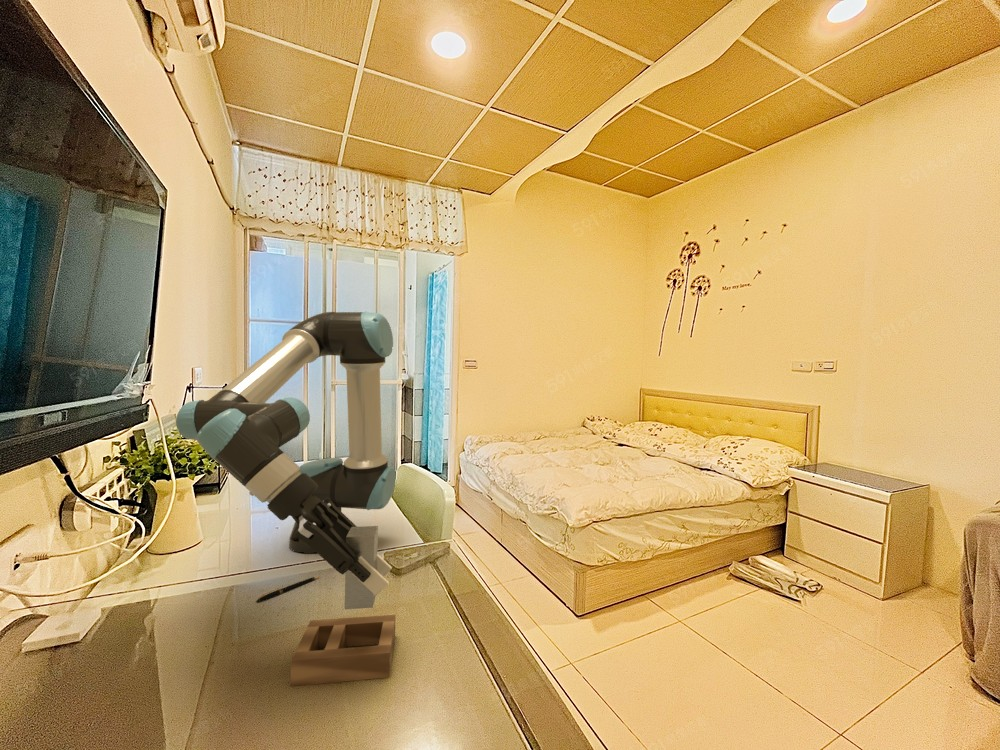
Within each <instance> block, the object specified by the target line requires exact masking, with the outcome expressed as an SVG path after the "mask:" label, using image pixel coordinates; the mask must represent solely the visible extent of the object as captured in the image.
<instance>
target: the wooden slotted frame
mask: <svg viewBox="0 0 1000 750" xmlns="http://www.w3.org/2000/svg"><path fill="white" fill-rule="evenodd" d="M395 640H396V614H387V615H386V614H385V615H373V616H372V615H371V616H370V615H369V616H356V617H343V618H342V617H341V618H326V619H315V620H314V619H313V620H310V621H309V622H308V625H307V627H306V629H305V631H304V633H303V634H302V637H301V639H300V641H299V643H298V645H297V647H296V649H295V651H294V653H293V656H292V658H291V660H290V681H289V684H290V687H296V686H306V685H308V686H309V685H317V684H329V683H339V682H350V681H361V680H363V681H364V680H372V679H382V678H383V679H384V678H390V674H391V667H392V659H393V652H394V645H395ZM370 645H371V646H370Z"/></svg>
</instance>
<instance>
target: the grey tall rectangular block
mask: <svg viewBox="0 0 1000 750" xmlns="http://www.w3.org/2000/svg"><path fill="white" fill-rule="evenodd" d="M378 537H379V526H378V525H372V526H371V525H370V526H369V525H367V526H364V525H363V526H357V527H351V529H350V531H349V533H348V534H347V536H346V544H347V545H348V546H349V547H350V548H351V550H352V551H353V552H354V553H355V554H356V555H357V557H358V558H359V557H360V556H362V557H363V558H364V559H365V560H366V561H367V562H368V563H369V564H370V565H371V566H372V567H373V568H375V569H376V570H377V554H378V546H379V543H378ZM344 577H345V578H344V610H356V609H357V610H358V609H372V608H374V604H375V600H376V596H375V595H374V594H373V593H372V592H371V591H370V590H369V589H368V588H367V587H366V586H365V585H364V584H362V583H361V582H360V581H359V580H358V579H357V578H356V577H355V576H354V575H353V574H352V573H351V572H350V571H348V570H347V571H346V572H345V573H344Z"/></svg>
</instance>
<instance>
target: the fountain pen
mask: <svg viewBox="0 0 1000 750" xmlns="http://www.w3.org/2000/svg"><path fill="white" fill-rule="evenodd" d="M319 577H320V575H318V576H316V577H315V576H312V577H310V578H306V579H304V580H301V581H297V582H296V583H293V584H291V585H287V586H285V587H282V588H275V589H273V590H270V591H268V592H266V593H263V594H262V595H260V596H258V598H257V599H256V600H255V603H261V602H264V601H265V602H266V601H268V600H270V599H273V598H275V597H278V596H281V595H282V594H284V593H288V592H290V591H292V590H295V589H297V588H299V587H301V586H302V587H303V586H305V585H306V584H309V583H311V582H314V581H315V580H316V579H318V578H319Z"/></svg>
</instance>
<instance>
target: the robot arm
mask: <svg viewBox="0 0 1000 750" xmlns="http://www.w3.org/2000/svg"><path fill="white" fill-rule="evenodd" d="M281 339H282V340H281V341H280V342H279V343H278V344H277V345H275V346H274V347H273V348H272V349H270V350H269V351H268V352H267V353H265V354H264V355H263V356H262V357H261V358H259V359H258V360H257V361H255V362H254V363H253V364H252V365H251V366H249V367H248V368H247V369H245V370H244V371H243V372H242V373H240V374H239V375H238V376H237V377H236V378H234V379H233V380H232V381H231V382H229V383H228V384H227V385H226V386H225V387H222V389H221V390H220V391H218V392H217V393H215V394H214V395H213V396H211V398H209V399H207V400H204V399H198V400H192V401H189V402H187V403H185V404H184V405H182V406H181V408H180V409H179V410H178V412H177V414H176V419H175V426H176V429H177V430H178V433H179V434H180V435H181V436H182V437H183V438H185V439H187V440H192V441H193V440H194V441H197V443H198V445H200V447H201V448H202V449H203V450H204V451H205V452H206V453H207V454H208V456H210V458H211V459H213V460H214V461H215V462H216V463H217V464H218V465H219V466H221V467H222V468H223V469H224V470H225V471H226V472H228V473H229V474H230V475H231V476H232V477H233V478H235V479H236V480H237V481H238V483H240V484H241V485H243V486H244V487H245V489H247V490H248V491H249V495H250V496H252V497H253V496H254V497H256V499H257V500H258V501H260V503H266V502H267V509H268V510H269V511H270V512H271V513H272V514H273V515H275V516H276V518H277V519H279V521H284V520H286V519H288V518H289V516H290V517H291V518H292V519H293V520H294V524H293V527H292V529H291V532H290V536H289V538H288V540H289V542H288V543H289V544H288V547H289V546H290V547H289V549H290V548H291V549H292V550H291V549H290V550H291V551H293V550H294V551H293V552H295V551H298V552H297V553H299V552H304V553H303V554H315V553H314V552H317V553H316V554H317V555H319V556H320V557H321V558H322V559H323V560H324V561H326V562H327V563H328V564H329V565H330V566H331V567H332V568H333V569H335V570H336V571H337V572H338V573H339V574H341V575H345V572H346V571H347V570H348V571H350V572H351V573H352V574H353V575H354V576H355V577H356V578H357V579H358V580H359V581H360V582H361V583H362V584H364V585H365V586H366V587H367V588H368V589H369V590H370V591H371V592H372V593H373V594H374V595H375V596H379V594H380V593H381V592H382V591H383V590H384V589H385V588H386V587H387V586H388V585H389V582H390V581H388V579H386V578H385V576H386V575H387V574H388V573H389V572H391V570H392V568H393V567H392V566H391V564H389V563H388V562H387V561H386V560H385V559H384V558H383V557H382V556H381V555H379V553H377V570H376V569H375V568H373V567H372V566H371V565H370V564H369V563H368V562H367V561H366V560H365V559H364V558H363V557H362V556H360V557H359V558H358V557H357V555H356V554H355V553H354V552H353V551H352V550H351V548H350V547H349V546H348V545H347V544H346V536H347V534H348V533H349V531H350V529H351V527H358V526H357V525H356V524H355V523H354V522H353V521H352V520H351V519H350V518H348V517H347V516H346V514H344V513H343V512H342V509H357V510H358V509H359V510H367V511H370V510H382V509H384V508H385V507H386V506H387V505H388V504H389V502H390V500H391V498H392V496H393V493H394V490H395V487H396V478H397V477H396V476H397V475H396V474H397V473H396V470H395V468H394V467H392V466H389V464H388V463H389V462H388V461H389V460H388V457H387V456H386V455H384V454H383V450H382V446H383V444H382V442H383V441H382V409H381V408H382V406H381V403H382V402H381V368H382V367H384V365H385V364H386V357H387V358H388V357H389V356H391V354H392V353H393V347H394V337H393V332H392V327H391V325H390V322H389V321H388V319H387V318H386V317H385V316H384V315H382V314H381V313H379V312H371V311H370V312H369V311H363V312H362V311H359V312H358V311H357V312H356V311H354V312H353V311H348V312H344V311H343V312H342V311H341V312H340V311H339V312H338V311H337V312H336V311H327V312H321V313H318V314H314V315H313V316H310V317H308V318H305V319H304V320H303V321H301V322H299V323H297V324H295V325H294V326H292V327H291V328H290V329H288V330H287V331H286V332H285V333H284V334H283V336H282V338H281ZM325 356H326V357H327V356H336V357H337V356H338V357H339V364H340V365H341V366H342V367H343V368H345V370H346V393H347V395H346V398H347V424H348V426H347V428H348V452H349V453H348V454H349V456H348V457H347V458H346V459H345V460H344V461H343V458H341V457H328V458H321V459H316V460H311V461H308V462H305V463H303V464H301V465H300V466H299V465H298V464H297V463H296V462H295V461H294V460H293V459H292V458H290V457H289V455H287V454H286V453H285V452H284V451H283V450H282V449H281V447H283V446H284V445H285V444H287V443H289V442H290V441H292V440H293V439H295V438H297V437H299V435H300V434H301V433H302V432H304V431H305V429H307V427H308V426H309V424H310V421H311V420H310V419H311V416H310V410H309V408H308V407H307V405H306V404H305V403H304V402H303V401H302V400H300V399H298V398H296V397H284V398H282V399H281V398H279V399H277V400H276V401H274V402H271V403H269V402H267V401H268V400H270V398H272V396H274V395H275V393H277V392H278V391H279V390H280V389H281V388H282V387H283V386H284V385H285V384H287V382H288V381H289V380H290V379H291V378H293V376H295V375H296V373H298V371H300V370H301V369H302V368H303V367H304V366H305V365H306V364H311V363H314V362H315V361H316V360H318V358H320V357H325Z"/></svg>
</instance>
